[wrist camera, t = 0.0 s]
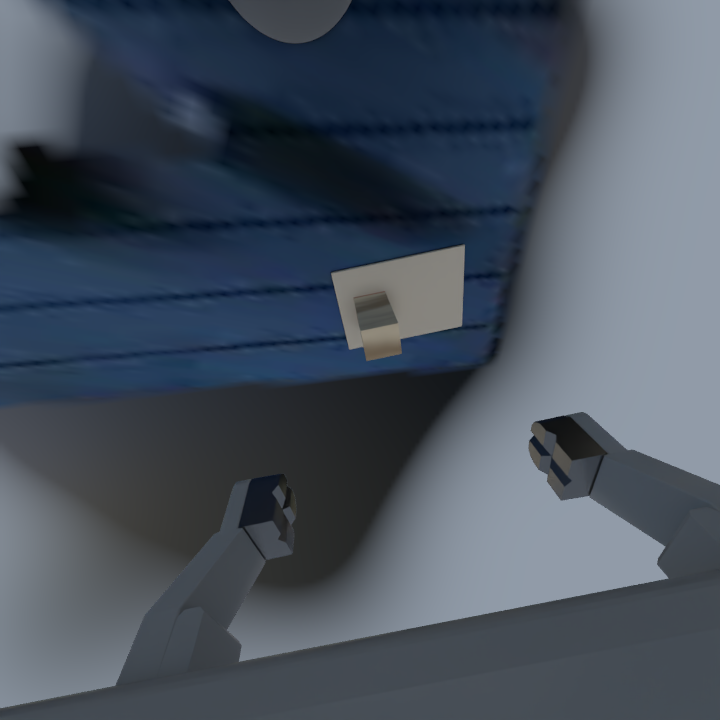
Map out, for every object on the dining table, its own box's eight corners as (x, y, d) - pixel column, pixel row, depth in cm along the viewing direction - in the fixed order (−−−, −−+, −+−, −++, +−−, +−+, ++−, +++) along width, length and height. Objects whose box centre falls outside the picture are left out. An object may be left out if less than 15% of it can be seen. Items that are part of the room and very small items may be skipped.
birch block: (353, 297, 48) (360, 330, 40) (384, 291, 48) (398, 323, 40) (358, 324, 51) (366, 360, 43) (388, 318, 51) (401, 353, 43)
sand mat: (331, 272, 46) (331, 273, 45) (463, 244, 45) (464, 245, 45) (349, 347, 54) (349, 349, 54) (460, 324, 54) (461, 326, 53)
